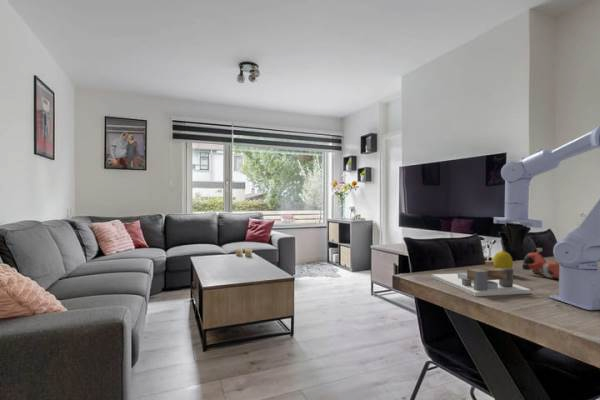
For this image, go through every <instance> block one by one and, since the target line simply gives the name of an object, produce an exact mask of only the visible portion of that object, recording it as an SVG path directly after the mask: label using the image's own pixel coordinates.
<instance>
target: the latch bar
mask: <svg viewBox="0 0 600 400" xmlns="http://www.w3.org/2000/svg"><path fill="white" fill-rule="evenodd" d="M474 271H487V280H499V285H502V286H507V287H512V286H513V284H514V269H513V268H512V269H510V268H495V267H494V268H493V267H492V268H491V267H490V268H469V269H467V270H466V273H467V279H470V280H473V281H474Z"/></svg>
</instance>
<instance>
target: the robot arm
mask: <svg viewBox="0 0 600 400" xmlns="http://www.w3.org/2000/svg"><path fill="white" fill-rule="evenodd" d="M595 149H600V126H599V125H598V126H597V127H596V128H594V129H593V130H591V131H589V132H587V133H585V134H584V135H581V136H580V137H577V138H575V139H573V140H571V141H569V142H567V143H565V144H563V145H560V146H559V147H557V148H555V149H549V148H538V149H536V150H535V152H534V153H533V154H530V155H529V156H526V157H521V158H519V160H517V161H507V162H506V163H505V164H503V166H502V167H501V169H500V176H501V178H502V180H504V182H505V183H504V217H503V216H494V217H493V224H499V225H500V224H502V225H501V230H503V232H504V234H505V235H506V236H505V237H507V241H508V244H509V248H510V250H511V251H514V252H516V251H518V252H519V251H521V248H522V247H523V243H524V241H525V239H526V237H527V235H528V233H529V232H530V231H531V228H535V229H539V228H540V229H542V228H543V220H537V219H531V218H529V209H530V208H529V202H530V201H529V200H530V199H529V198H530V197H529V196H530V195H529V194H530V185H531V181H532V180H533V178H534V177H537V176H539V175H541V174H544V173H547V172H550V171H552V170H554V169H557V168H558V166H559V165H560V163H561V162H562V161H564V160H567V159H570V158H573V157H576V156H578V155H581V154H584V153H587V152H589V151H593V150H595ZM552 252H553V256H554V258H555V260H557V262H558V263H559V279H558V294H557V295H555V294H553V295H552V294H551V295H549V297H548V298H549V299H550V298H551V299H553V300H556V301H559V302H562V303H565V304H568V305H571V306H575V307H577V308H581V309H583V310H587V311H597V310H600V269H599V263H600V198H599V199H598V201H597V202H596V203H595V205H594V206H593V207H592V209H591V210H590V211H589V213H588V214H587V216H586V217H585V218H584V220H583V221H581V224H580V225H579V226H578V227H577V228H575V229H573V230H572V231H570V232H568V234H567V235H566V236H565V237H564V238H563V239H561V240H559V241H558V242H556V243H555V244H554V246H553V249H552Z"/></svg>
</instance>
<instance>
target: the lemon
mask: <svg viewBox="0 0 600 400" xmlns="http://www.w3.org/2000/svg"><path fill="white" fill-rule="evenodd" d="M492 263H493V267H494V268H510V269H513V266H514V262H513V257H512V256H511V254H510V253H508V252H507V251H505V250H501V251H498V252H496V253H495V254H494V256H493V261H492Z"/></svg>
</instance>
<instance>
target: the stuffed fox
mask: <svg viewBox="0 0 600 400" xmlns="http://www.w3.org/2000/svg"><path fill="white" fill-rule="evenodd" d="M541 252H543V247H537V248H535V249H534V251H533V252H529V253H526V255H525V256H524V258H523V263H522V264H521V265H522V270H525V271H531V270H532V273H533V274H543V276H544V277H545V278H547V279H550V280H551V279H552V280H553V279H555V280H559V262H558V261H546V259H545V258H544V256H543V255H542V254H540V253H541Z"/></svg>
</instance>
